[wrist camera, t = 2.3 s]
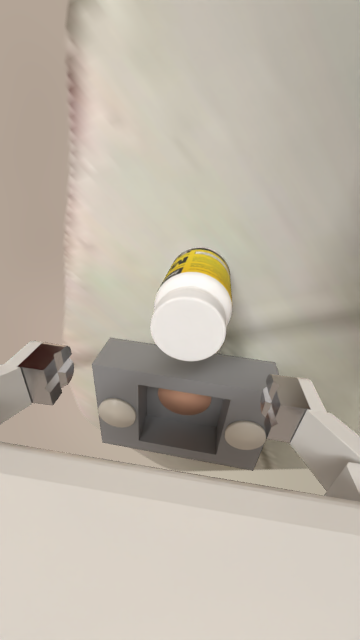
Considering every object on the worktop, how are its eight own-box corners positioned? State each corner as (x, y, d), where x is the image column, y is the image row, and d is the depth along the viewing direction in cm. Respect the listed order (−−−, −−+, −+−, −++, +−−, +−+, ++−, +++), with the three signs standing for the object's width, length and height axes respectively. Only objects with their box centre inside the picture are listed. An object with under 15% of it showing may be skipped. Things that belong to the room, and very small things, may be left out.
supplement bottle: (185, 234, 18) (163, 271, 11) (241, 262, 19) (254, 315, 12) (162, 287, 21) (131, 345, 14) (211, 311, 21) (207, 379, 14)
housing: (275, 362, 23) (285, 399, 19) (249, 435, 29) (253, 474, 25) (110, 337, 24) (89, 367, 21) (116, 412, 30) (101, 446, 26)
